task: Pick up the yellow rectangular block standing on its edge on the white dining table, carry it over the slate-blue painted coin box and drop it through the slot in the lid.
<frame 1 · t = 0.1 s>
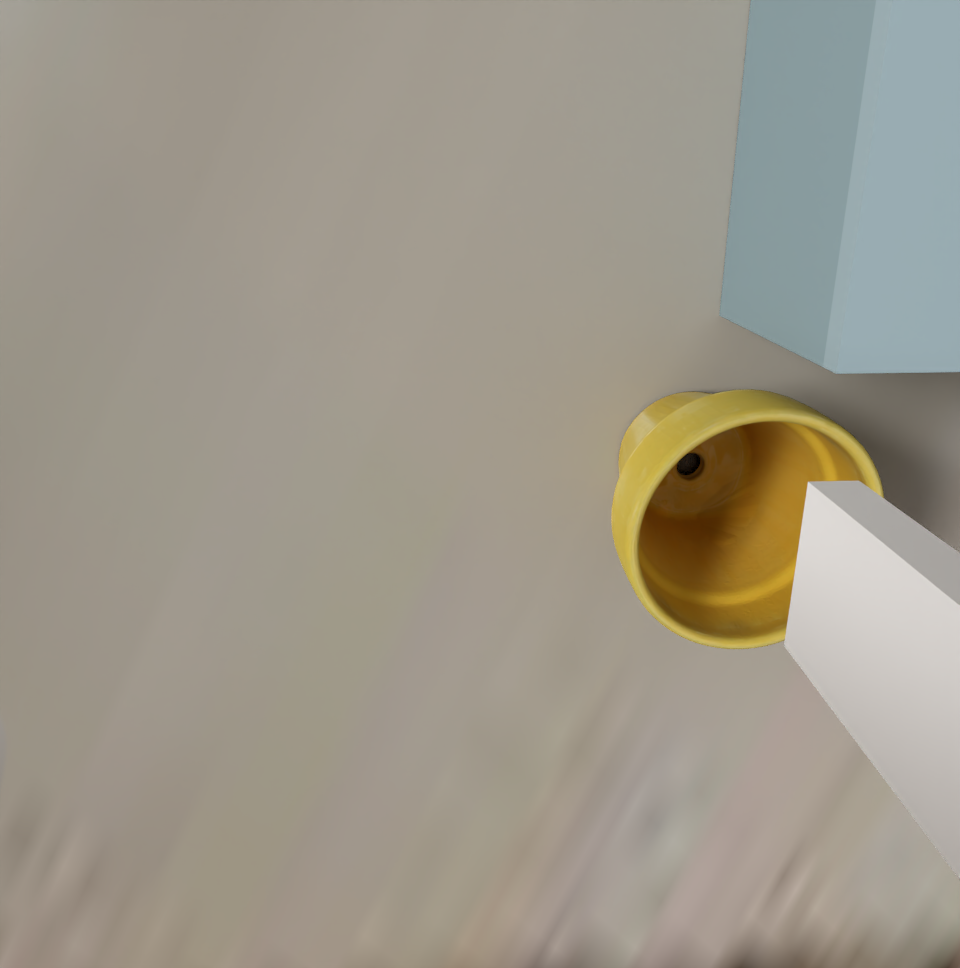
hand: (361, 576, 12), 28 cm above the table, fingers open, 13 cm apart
coin box: (916, 130, 37), on the table
plant pot: (684, 456, 42), on the table
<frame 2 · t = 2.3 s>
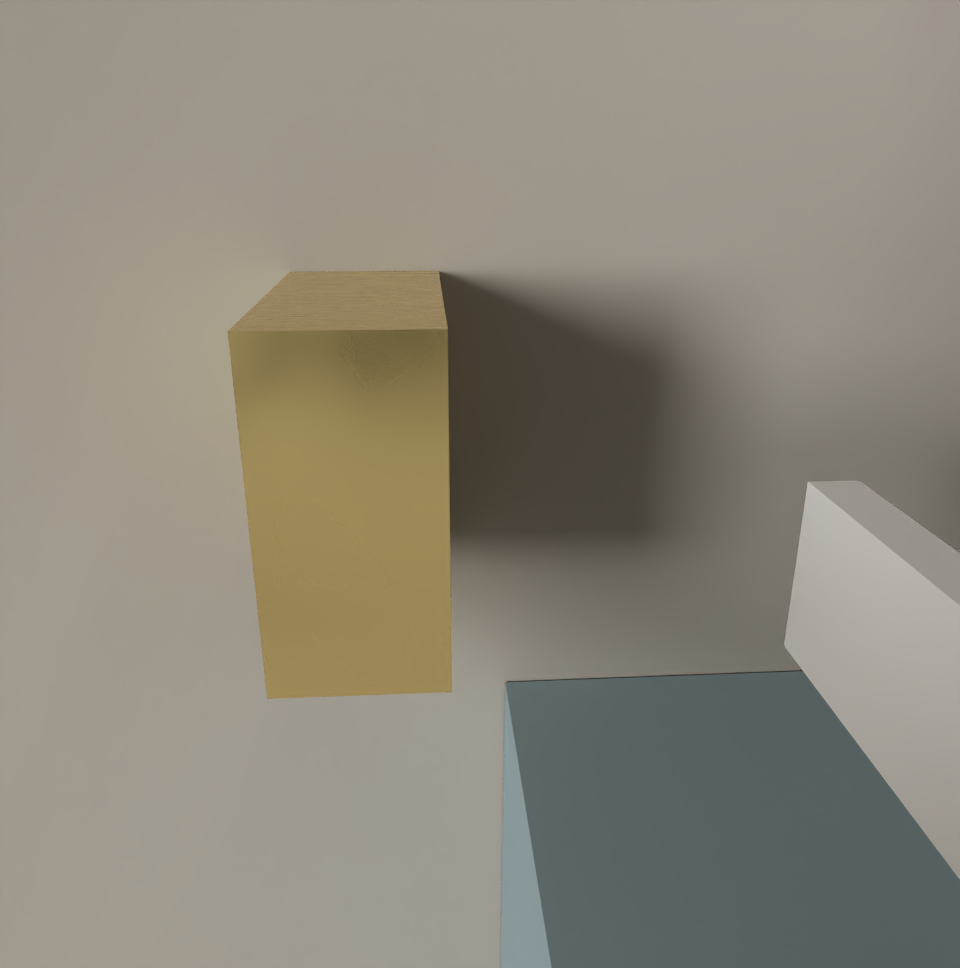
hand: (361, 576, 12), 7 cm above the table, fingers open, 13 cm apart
coin box: (776, 904, 24), on the table
yellow rectangular block: (371, 412, 18), on the table
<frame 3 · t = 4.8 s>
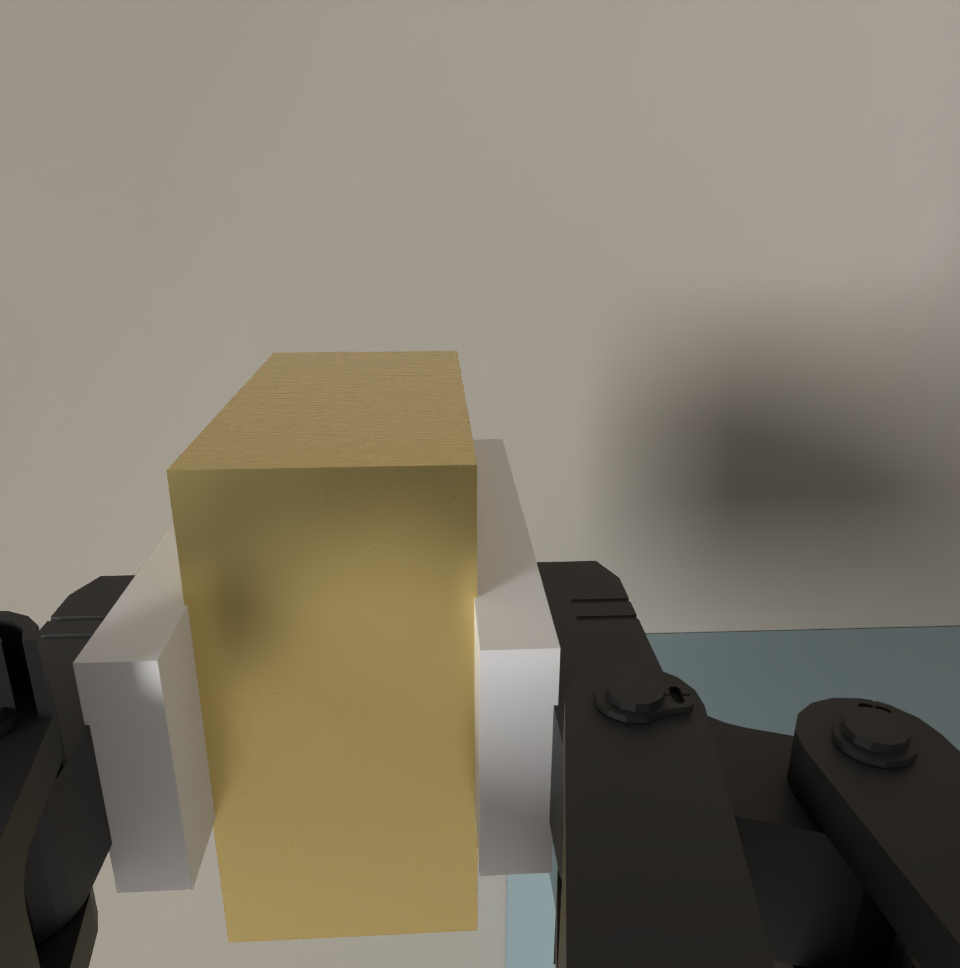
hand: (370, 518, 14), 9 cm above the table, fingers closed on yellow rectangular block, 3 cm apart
coin box: (741, 840, 29), on the table
yellow rectangular block: (373, 521, 15), point 9 cm above the table, touching gripper
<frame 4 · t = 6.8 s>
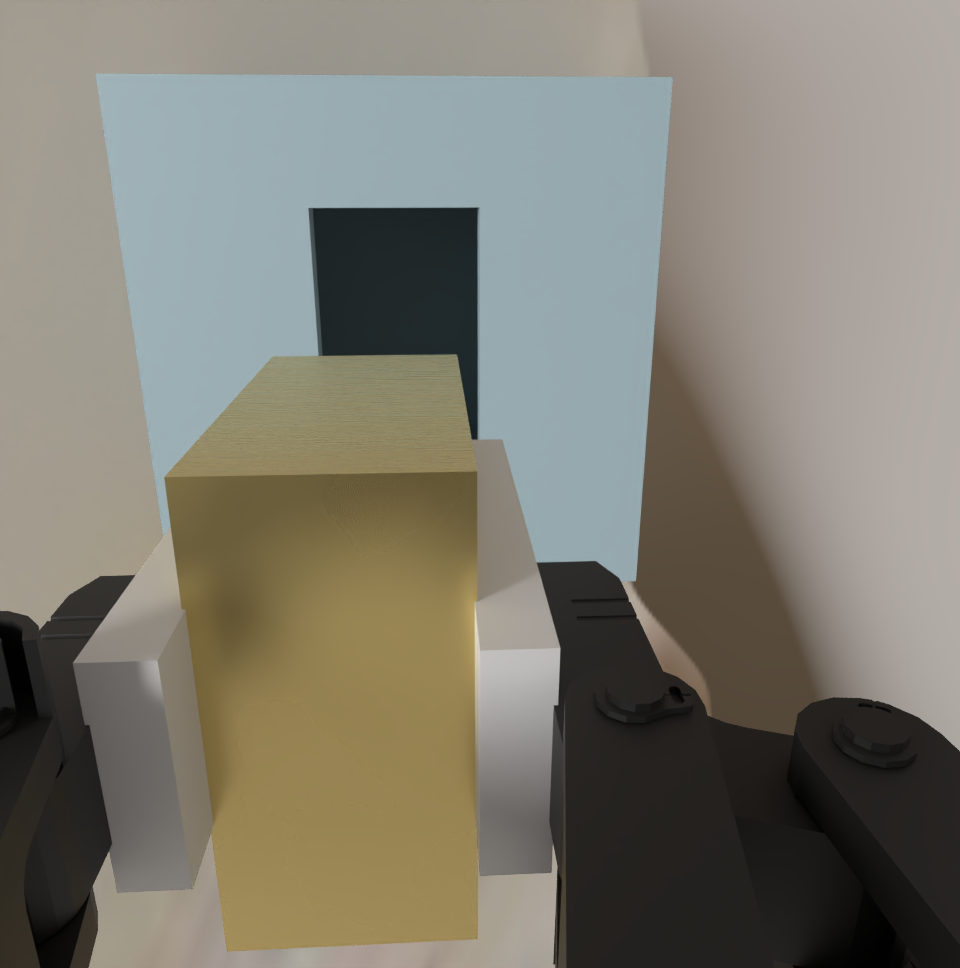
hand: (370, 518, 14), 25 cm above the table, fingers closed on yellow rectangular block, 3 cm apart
coin box: (406, 300, 37), on the table
yellow rectangular block: (373, 525, 15), point 24 cm above the table, touching gripper
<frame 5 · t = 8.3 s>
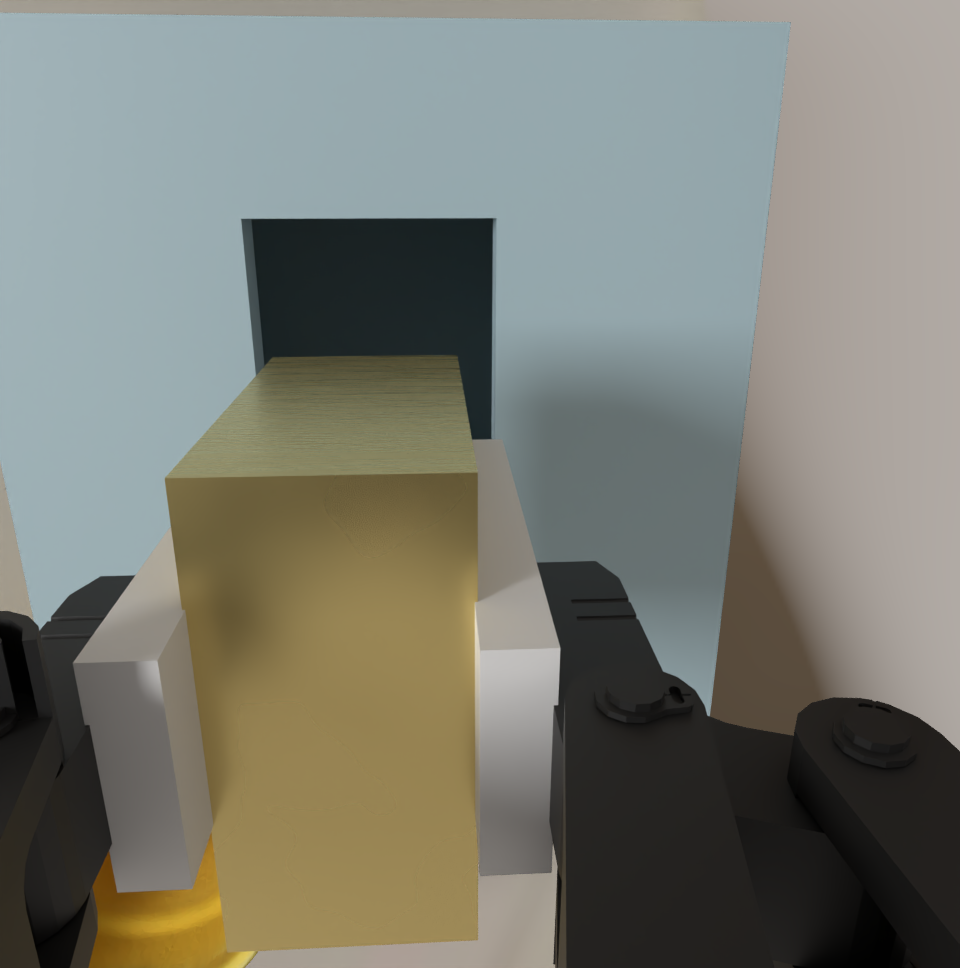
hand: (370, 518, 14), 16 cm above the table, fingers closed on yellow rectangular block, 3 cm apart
coin box: (396, 333, 29), on the table
plant pot: (187, 701, 34), on the table
yellow rectangular block: (373, 525, 15), point 16 cm above the table, touching gripper
when the fingers open (13 cm above the table, at t = 9.1 s): yellow rectangular block drops 10 cm and tips over, resting on coin box.
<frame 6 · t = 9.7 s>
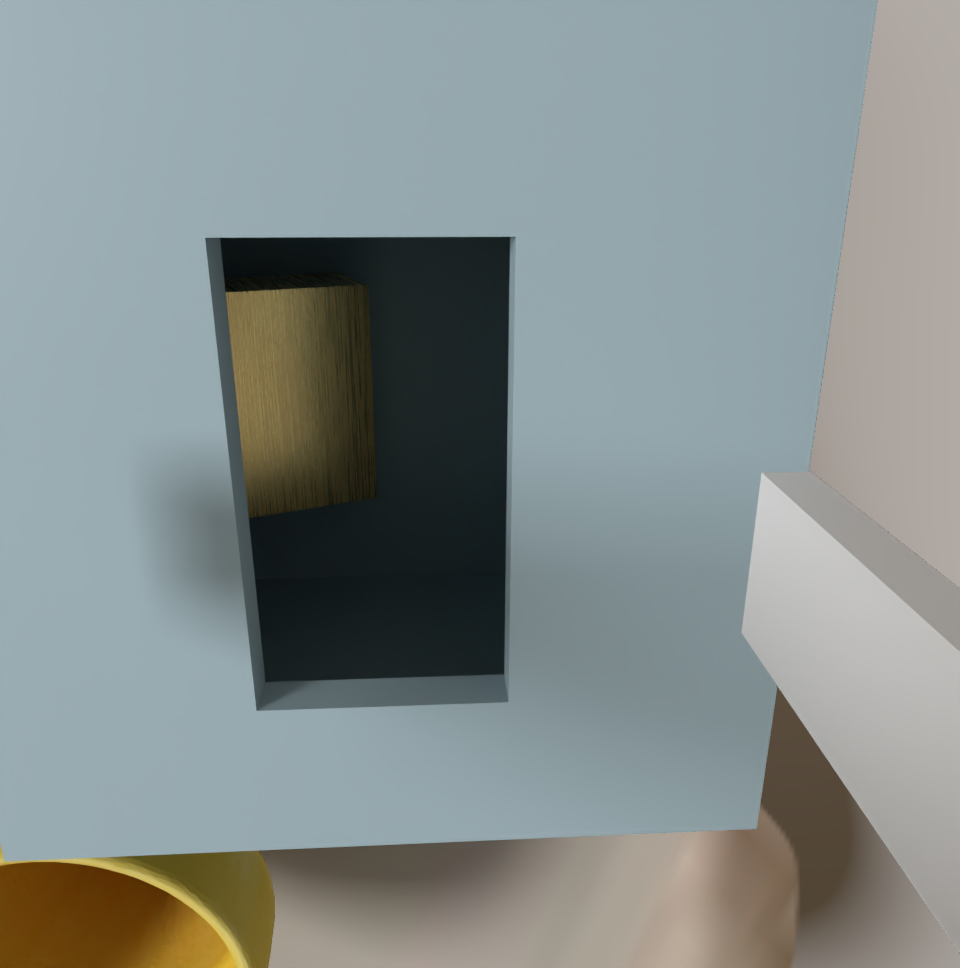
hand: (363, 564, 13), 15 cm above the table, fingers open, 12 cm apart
coin box: (396, 357, 26), on the table
plant pot: (167, 756, 31), on the table
yellow rectangular block: (357, 384, 24), point 2 cm above the table, tilted 69°, touching coin box
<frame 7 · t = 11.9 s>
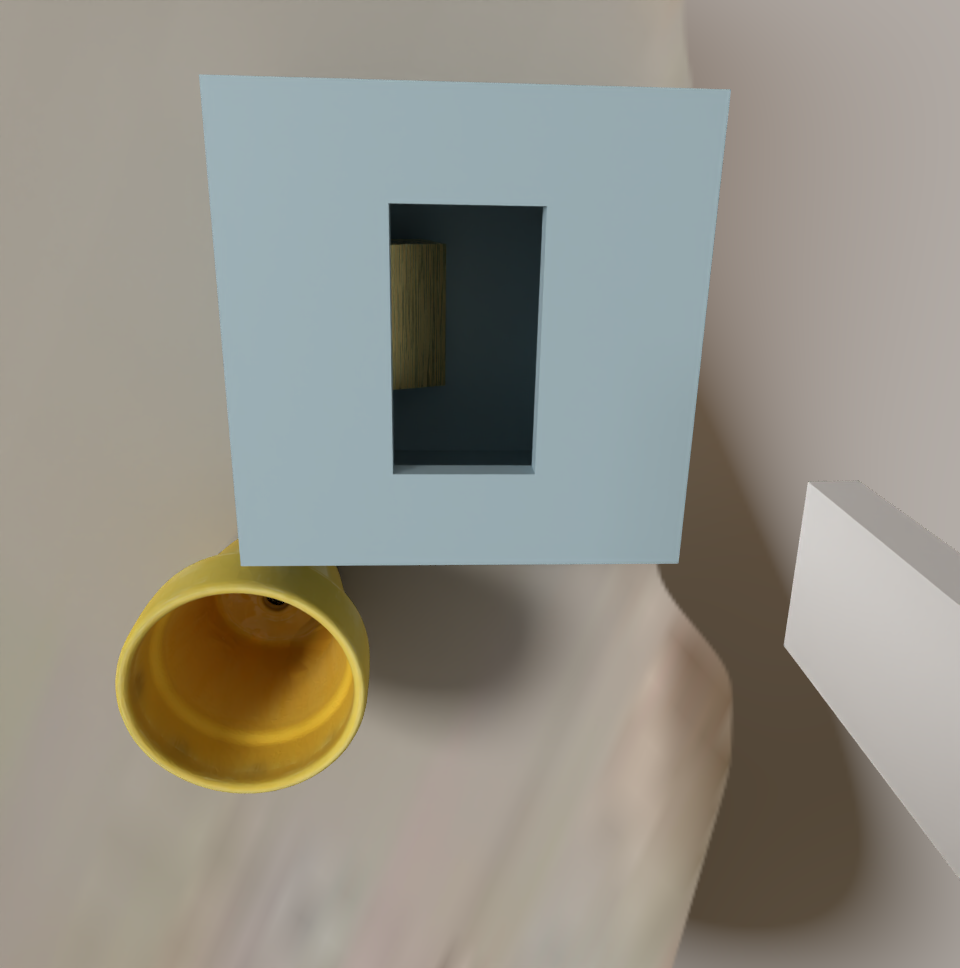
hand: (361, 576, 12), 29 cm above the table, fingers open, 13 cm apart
coin box: (455, 298, 39), on the table
plant pot: (280, 585, 44), on the table
yellow rectangular block: (432, 311, 37), point 2 cm above the table, tilted 69°, touching coin box
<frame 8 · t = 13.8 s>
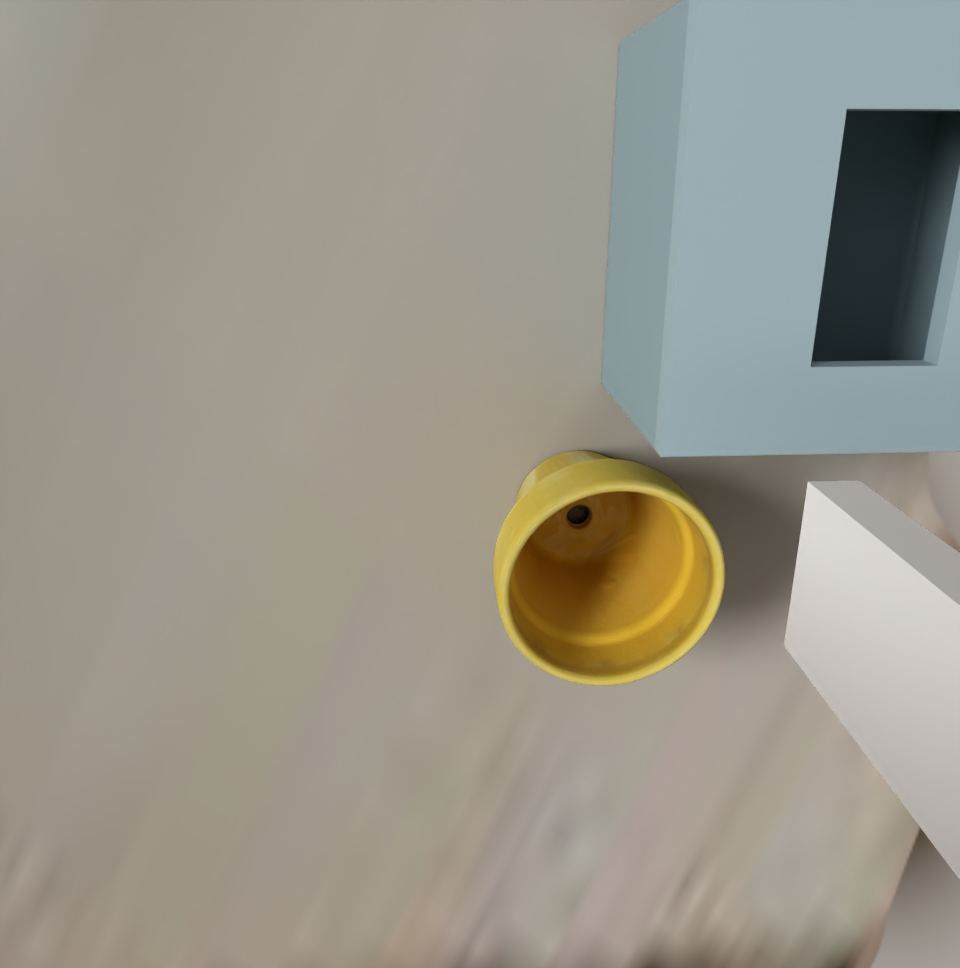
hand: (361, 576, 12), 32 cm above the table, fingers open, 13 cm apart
coin box: (769, 224, 42), on the table
plant pot: (576, 506, 47), on the table
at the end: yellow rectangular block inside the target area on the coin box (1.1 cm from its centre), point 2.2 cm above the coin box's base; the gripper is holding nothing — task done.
